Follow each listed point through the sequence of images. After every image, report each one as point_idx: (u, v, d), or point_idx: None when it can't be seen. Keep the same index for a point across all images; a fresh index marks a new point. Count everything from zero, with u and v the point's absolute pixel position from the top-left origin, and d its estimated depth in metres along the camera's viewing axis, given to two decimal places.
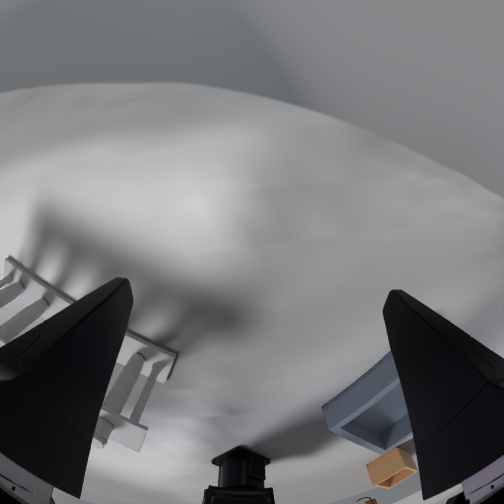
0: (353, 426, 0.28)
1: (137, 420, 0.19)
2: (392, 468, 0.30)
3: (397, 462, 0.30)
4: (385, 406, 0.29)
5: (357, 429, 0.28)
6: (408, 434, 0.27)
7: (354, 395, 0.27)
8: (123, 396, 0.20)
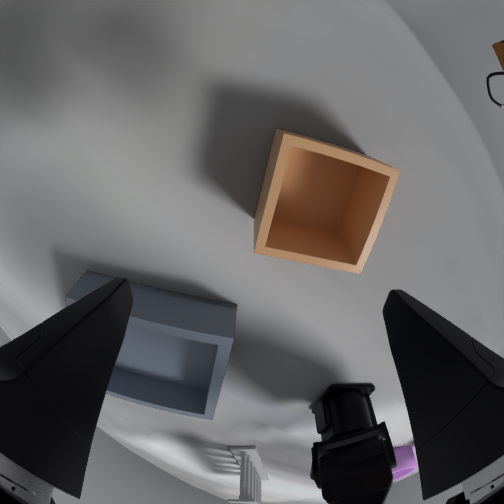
0: (209, 382, 0.25)
1: (240, 492, 0.31)
2: None
3: None
4: (171, 346, 0.25)
5: (210, 379, 0.25)
6: (167, 333, 0.20)
7: None
8: None
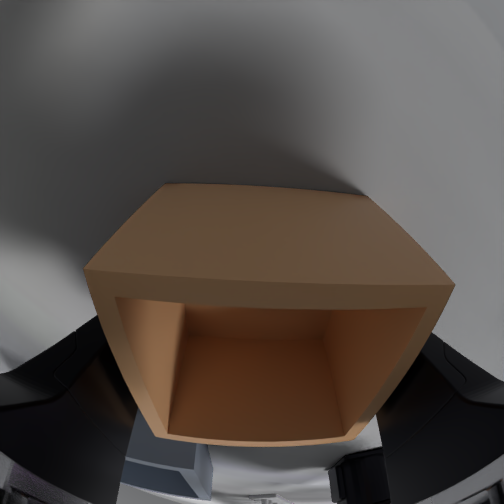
0: None
1: None
2: None
3: None
4: None
5: None
6: None
7: None
8: None
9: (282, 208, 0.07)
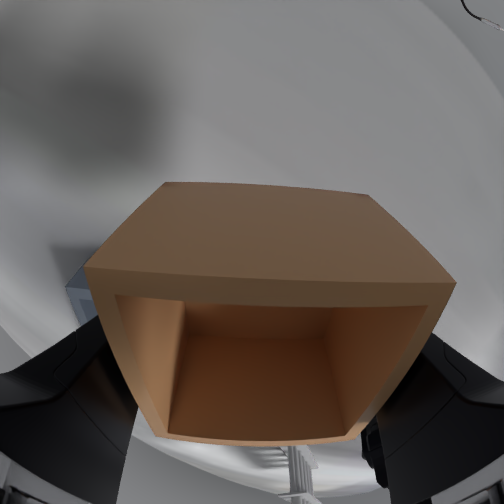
0: None
1: (291, 485, 0.30)
2: None
3: None
4: None
5: None
6: None
7: None
8: None
9: (283, 206, 0.07)
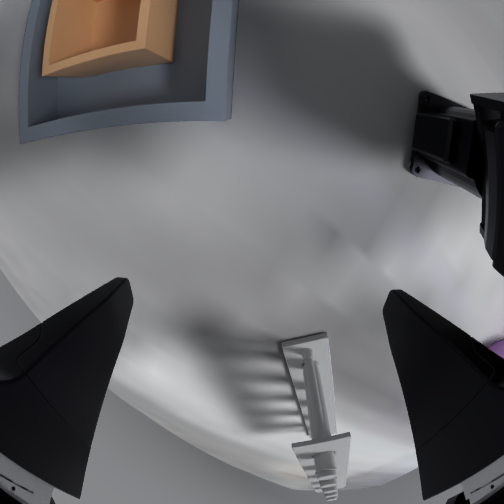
0: None
1: (315, 426, 0.18)
2: (83, 67, 0.10)
3: (71, 72, 0.11)
4: None
5: None
6: None
7: None
8: (310, 420, 0.20)
9: None
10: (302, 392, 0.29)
